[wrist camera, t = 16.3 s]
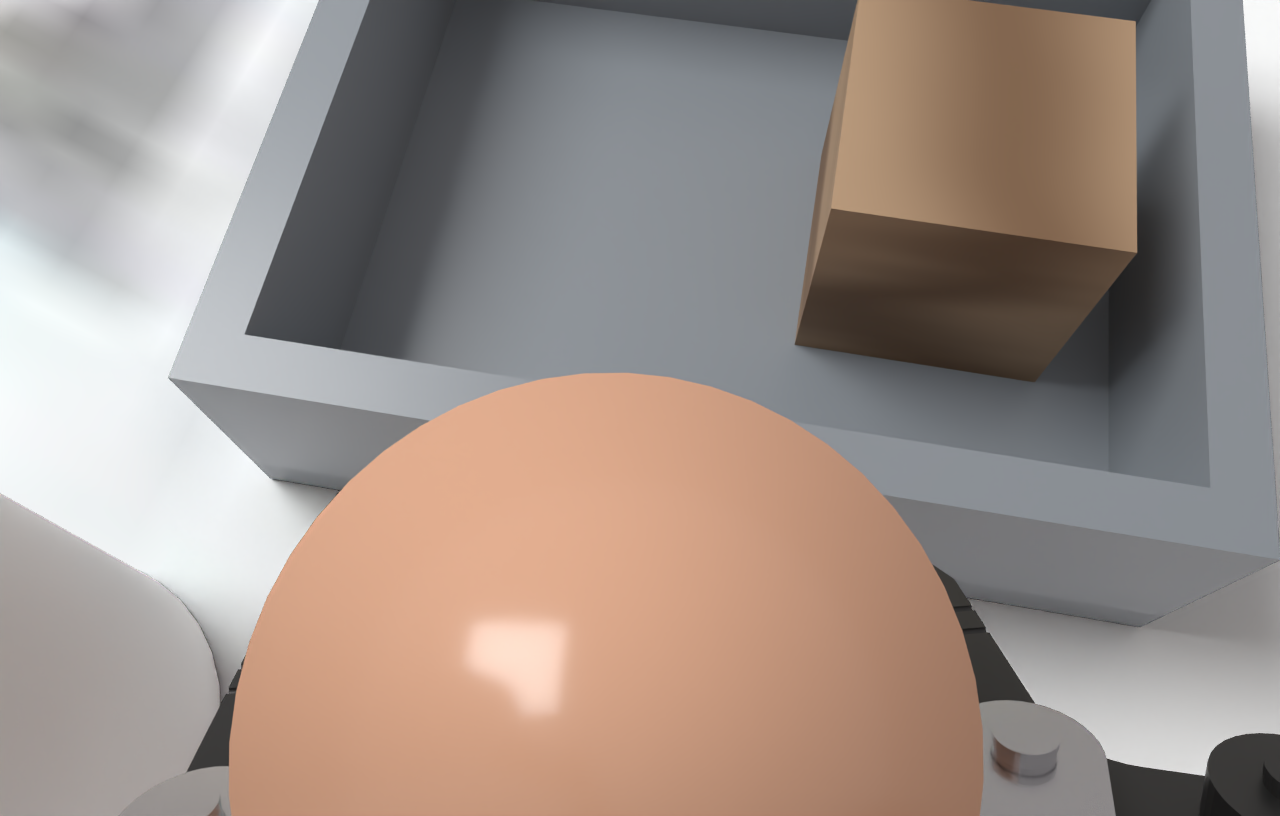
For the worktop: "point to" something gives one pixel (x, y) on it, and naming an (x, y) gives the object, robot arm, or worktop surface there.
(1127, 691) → the worktop surface
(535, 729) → the terracotta capsule
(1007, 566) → the grey tote
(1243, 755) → the robot arm
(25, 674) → the cylindrical container
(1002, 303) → the walnut cube
